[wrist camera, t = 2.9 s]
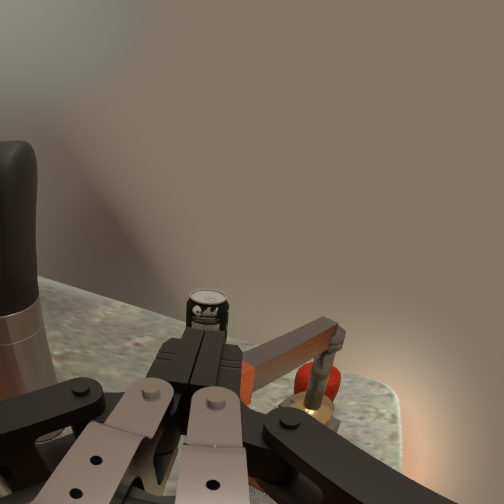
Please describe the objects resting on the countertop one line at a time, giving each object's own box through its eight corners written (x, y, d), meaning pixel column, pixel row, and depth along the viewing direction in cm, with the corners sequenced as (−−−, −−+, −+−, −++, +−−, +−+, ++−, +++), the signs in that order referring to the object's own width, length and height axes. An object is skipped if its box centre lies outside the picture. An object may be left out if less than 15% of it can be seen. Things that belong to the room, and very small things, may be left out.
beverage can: (208, 346, 55) (211, 284, 52) (232, 362, 51) (238, 298, 48) (178, 356, 50) (178, 292, 47) (202, 376, 46) (204, 307, 43)
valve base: (333, 447, 33) (367, 351, 29) (309, 469, 29) (343, 371, 25) (291, 422, 37) (313, 327, 34) (266, 439, 34) (284, 341, 30)
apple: (312, 391, 44) (322, 351, 43) (340, 413, 39) (353, 372, 38) (280, 404, 41) (288, 363, 39) (307, 429, 36) (319, 388, 34)
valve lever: (323, 334, 32) (329, 305, 31) (347, 345, 30) (354, 315, 29) (179, 403, 19) (178, 366, 19) (206, 428, 17) (207, 391, 17)
